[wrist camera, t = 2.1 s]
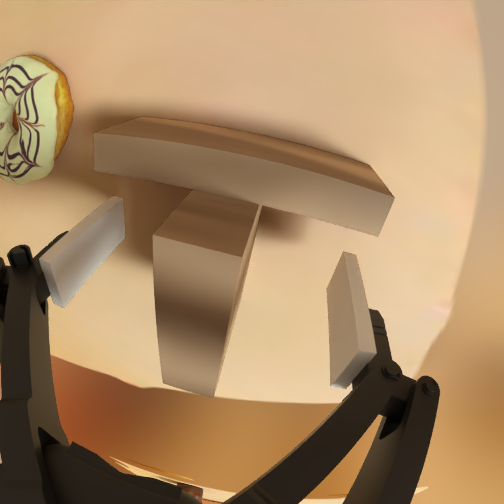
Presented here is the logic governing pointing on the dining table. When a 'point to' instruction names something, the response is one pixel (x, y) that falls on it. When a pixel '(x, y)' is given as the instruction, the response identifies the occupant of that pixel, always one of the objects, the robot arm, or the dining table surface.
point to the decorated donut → (32, 117)
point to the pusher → (225, 222)
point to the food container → (192, 490)
